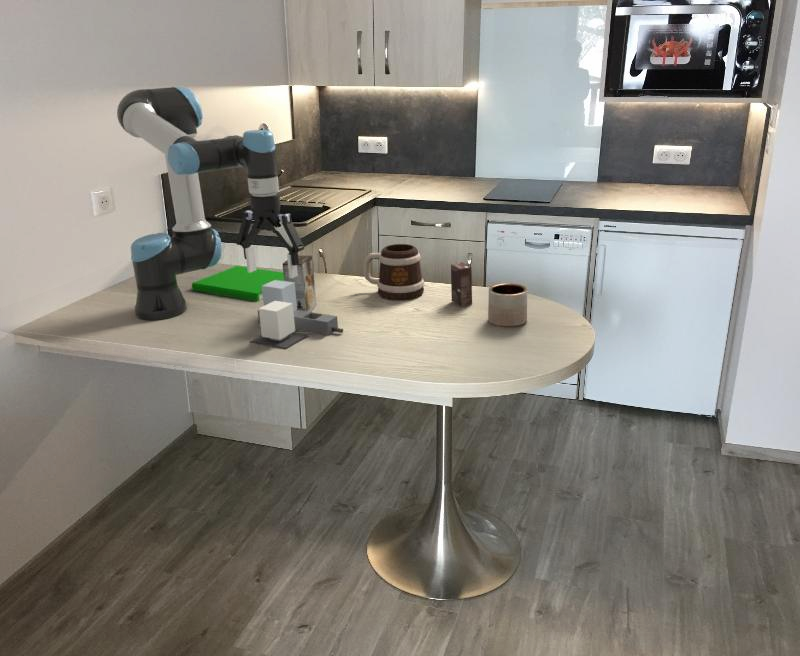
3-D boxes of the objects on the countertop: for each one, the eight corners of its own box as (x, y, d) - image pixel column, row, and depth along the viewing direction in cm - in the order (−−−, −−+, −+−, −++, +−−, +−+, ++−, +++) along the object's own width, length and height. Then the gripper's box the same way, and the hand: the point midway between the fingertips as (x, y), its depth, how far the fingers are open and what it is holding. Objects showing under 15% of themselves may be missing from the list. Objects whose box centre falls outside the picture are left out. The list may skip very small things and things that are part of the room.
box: (450, 301, 220) (450, 263, 216) (463, 299, 222) (463, 261, 218) (459, 307, 215) (459, 268, 211) (472, 305, 217) (472, 266, 213)
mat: (250, 342, 195) (250, 341, 195) (273, 330, 203) (272, 328, 203) (286, 349, 190) (286, 347, 190) (308, 336, 198) (307, 334, 198)
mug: (430, 287, 234) (429, 242, 229) (417, 302, 221) (415, 255, 215) (372, 284, 240) (370, 240, 235) (356, 298, 227) (353, 252, 221)
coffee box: (297, 304, 223) (292, 254, 217) (317, 305, 222) (312, 255, 216) (287, 315, 215) (281, 263, 209) (307, 315, 213) (302, 263, 207)
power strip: (259, 323, 208) (257, 309, 207) (269, 318, 213) (268, 304, 211) (337, 337, 196) (336, 322, 195) (347, 331, 200) (346, 316, 199)
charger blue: (265, 316, 206) (261, 285, 202) (278, 310, 211) (274, 279, 207) (285, 320, 203) (281, 288, 199) (297, 313, 207) (294, 282, 204)
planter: (484, 326, 200) (484, 293, 197) (492, 313, 210) (493, 281, 206) (522, 329, 197) (523, 296, 193) (530, 316, 206) (531, 284, 203)
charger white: (278, 332, 201) (274, 300, 197) (295, 335, 198) (292, 303, 194) (262, 340, 195) (258, 308, 191) (280, 344, 192) (276, 311, 189)
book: (237, 273, 259) (236, 265, 258) (300, 283, 246) (299, 274, 245) (192, 291, 241) (191, 283, 240) (257, 303, 228) (256, 294, 227)
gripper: (216, 193, 185) (226, 272, 192) (295, 199, 173) (303, 283, 181) (235, 188, 191) (244, 265, 199) (313, 193, 180) (319, 275, 187)
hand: (272, 274), depth 190 cm, fingers open, 13 cm apart
